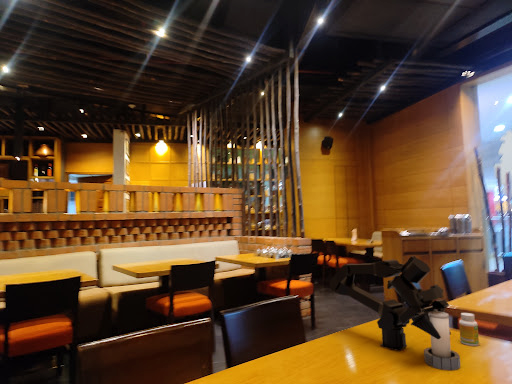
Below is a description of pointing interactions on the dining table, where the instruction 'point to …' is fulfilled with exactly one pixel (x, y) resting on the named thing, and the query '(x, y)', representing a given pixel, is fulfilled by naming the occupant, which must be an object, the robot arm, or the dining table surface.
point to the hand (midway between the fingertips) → (444, 336)
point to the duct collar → (442, 360)
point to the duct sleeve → (442, 326)
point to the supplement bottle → (468, 330)
